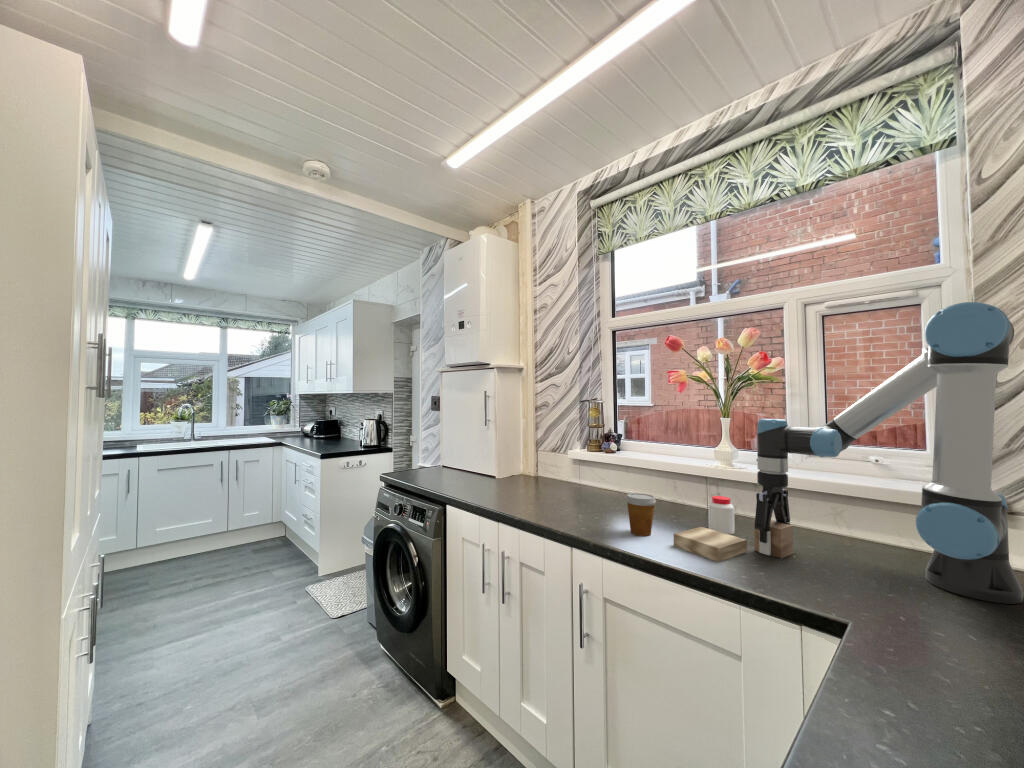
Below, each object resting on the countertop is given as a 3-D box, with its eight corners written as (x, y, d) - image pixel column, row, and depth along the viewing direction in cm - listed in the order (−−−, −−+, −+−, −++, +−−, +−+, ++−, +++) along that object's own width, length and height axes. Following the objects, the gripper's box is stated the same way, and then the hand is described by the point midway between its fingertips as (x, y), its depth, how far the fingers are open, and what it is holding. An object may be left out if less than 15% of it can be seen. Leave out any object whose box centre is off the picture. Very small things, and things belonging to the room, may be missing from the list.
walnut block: (793, 553, 116) (792, 525, 117) (781, 558, 113) (780, 529, 113) (766, 546, 122) (766, 519, 123) (754, 550, 118) (754, 522, 119)
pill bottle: (732, 536, 131) (731, 501, 132) (706, 531, 136) (706, 497, 136) (736, 530, 137) (735, 497, 138) (711, 525, 142) (711, 494, 143)
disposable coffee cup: (652, 529, 137) (652, 493, 138) (659, 538, 127) (659, 499, 128) (623, 528, 138) (623, 492, 138) (628, 537, 128) (628, 498, 129)
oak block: (746, 553, 117) (746, 539, 117) (719, 563, 109) (719, 548, 110) (701, 539, 129) (701, 526, 129) (673, 547, 121) (673, 533, 121)
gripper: (776, 467, 127) (776, 540, 126) (739, 472, 116) (740, 553, 115) (803, 471, 121) (804, 548, 120) (767, 477, 110) (768, 562, 109)
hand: (773, 550), depth 118 cm, fingers open, 8 cm apart
